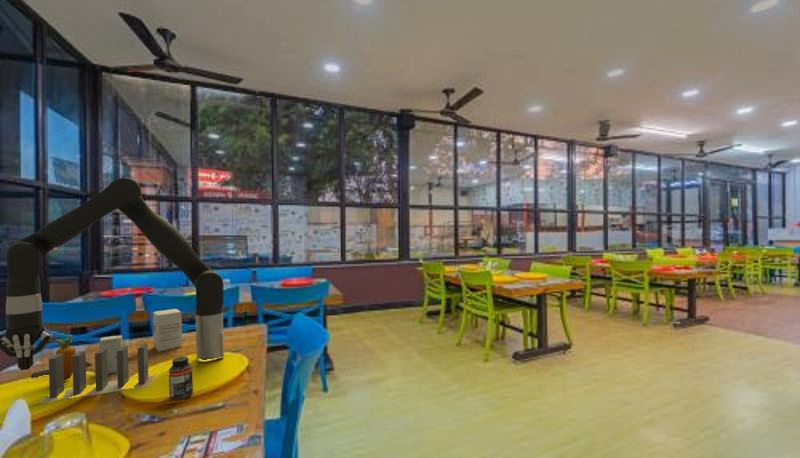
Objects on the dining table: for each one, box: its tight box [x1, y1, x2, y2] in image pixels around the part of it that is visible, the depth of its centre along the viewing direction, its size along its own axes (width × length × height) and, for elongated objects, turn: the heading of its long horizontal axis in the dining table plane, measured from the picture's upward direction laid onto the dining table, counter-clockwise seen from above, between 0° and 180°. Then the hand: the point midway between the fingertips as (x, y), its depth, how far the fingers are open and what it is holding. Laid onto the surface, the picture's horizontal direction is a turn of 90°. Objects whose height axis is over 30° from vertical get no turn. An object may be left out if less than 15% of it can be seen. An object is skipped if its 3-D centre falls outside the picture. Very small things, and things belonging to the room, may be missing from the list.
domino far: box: [48, 353, 65, 398], centre depth 112 cm, size 2×5×12 cm, turn 23°
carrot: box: [55, 334, 77, 380], centre depth 123 cm, size 5×5×15 cm
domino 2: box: [94, 348, 109, 391], centre depth 117 cm, size 2×5×12 cm, turn 22°
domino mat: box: [38, 374, 157, 404], centre depth 117 cm, size 27×10×1 cm, turn 112°
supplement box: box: [152, 308, 183, 353], centre depth 158 cm, size 9×9×15 cm
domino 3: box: [116, 345, 130, 388], centre depth 119 cm, size 2×5×12 cm, turn 22°
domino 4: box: [137, 343, 149, 385], centre depth 121 cm, size 2×5×12 cm, turn 22°
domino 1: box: [72, 350, 87, 395], centre depth 114 cm, size 2×5×12 cm, turn 22°
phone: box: [31, 361, 92, 378], centre depth 133 cm, size 7×1×15 cm
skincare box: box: [99, 334, 123, 375], centre depth 131 cm, size 6×4×12 cm
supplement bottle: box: [168, 355, 194, 401], centre depth 110 cm, size 6×6×11 cm
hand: (25, 369), depth 110 cm, fingers closed
